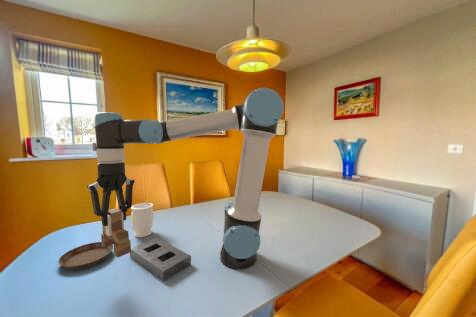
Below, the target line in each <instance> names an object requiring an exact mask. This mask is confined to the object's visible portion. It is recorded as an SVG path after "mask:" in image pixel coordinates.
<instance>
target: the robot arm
mask: <svg viewBox="0 0 476 317" xmlns="http://www.w3.org/2000/svg"><path fill="white" fill-rule="evenodd" d="M284 109H285V107H284V101H283V99H282V97H281V95H280V94H279V93H278V92H277V91H275V90H274V89H271V88H267V87H259V88H257V89H254V90H253V91H251V92H250V93H249V94H248V95H247V96H246V98H245V100H244V103H241V104H237V105H233V107H232V108H231V109H225V110H220V111H216V112H210V113H204V114H199V115H194V116H188V117H182V118H176V119H172V120H167V121H166V120H165V121H159V120H157V119H149V118H146V119H124V117H123V115H122V113H117V112H105V111H104V112H103V111H102V112H97V113H95V115H94V132H95V144H96V161H97V162H98V163H96V165H97V166H96V168H97V178H96V181H95V182H93V183H92V184H88V185H87V186H86V188H87V190H88V191H89V193H90V197H91V203H92V210H93V214H94V215H95V216H97V217H101V226H102V225H103V226H105V228H106V234H107V235H108V236H111V235H112V230H111V216H110V215H109V214H108V210H110V209H109V207H110V201H111V195H112V192H113V191H114V192H115V195H116V200H117V204H118V209H119V210H121V211H122V228H123V229H125V223H124V221H126V220H127V212H128V210H129V209H131V207H132V206H133V189H134V188H133V187H134V184H135V179H132V178H128V177H127V175H126V164H125V162H124V161H125V160H126V158H125V157H126V156H125V144H147V145H151V144H152V145H153V144H157V145H158V144H164V143H166V142H170V141H176V140H182V139H187V138H193V137H197V136H203V135H209V134H214V133H220V132H225V131H230V130H236V131H241V133H242V134H243V141H242V147H241V152H240V159H239V166H238V171H237V178H236V184H235V190H234V195H233V202H228V203H226V204H225V205H224V209H223V210H224V224H223V237H222V246H221V249H220V254H219V260H220V262H221V264H223V265H224V266H226V267H227V268H229V269H237V270H243V268H244V269H247V267H248V268H250V267H252V266H254V265H255V264H256V262H257V260H258V259H257V258H258V253H257V252H258V251H259V249H260V245H261V236H260V230H261V228H260V227H261V222H262V214H261V213H260V212H259V206H260V202H261V195H262V190H263V182H264V177H265V172H266V171H265V170H266V166H267V159H268V153H269V147H270V141H271V139H273V138H274V137H276V134H277V130H278V124H279V121H280V120H281V118H282V116H283V113H284ZM124 184H125V194H124V189H123V186H124ZM99 187H100V188H101V189H102V198H101V204H100V197H99V192H98V190H99ZM124 195H125V197H124ZM254 263H255V264H254ZM253 264H254V265H253ZM251 265H252V266H251Z"/></svg>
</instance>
